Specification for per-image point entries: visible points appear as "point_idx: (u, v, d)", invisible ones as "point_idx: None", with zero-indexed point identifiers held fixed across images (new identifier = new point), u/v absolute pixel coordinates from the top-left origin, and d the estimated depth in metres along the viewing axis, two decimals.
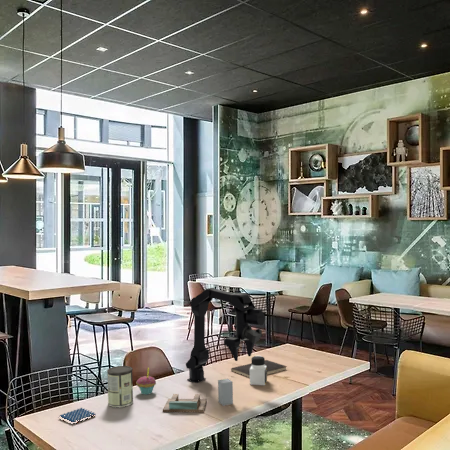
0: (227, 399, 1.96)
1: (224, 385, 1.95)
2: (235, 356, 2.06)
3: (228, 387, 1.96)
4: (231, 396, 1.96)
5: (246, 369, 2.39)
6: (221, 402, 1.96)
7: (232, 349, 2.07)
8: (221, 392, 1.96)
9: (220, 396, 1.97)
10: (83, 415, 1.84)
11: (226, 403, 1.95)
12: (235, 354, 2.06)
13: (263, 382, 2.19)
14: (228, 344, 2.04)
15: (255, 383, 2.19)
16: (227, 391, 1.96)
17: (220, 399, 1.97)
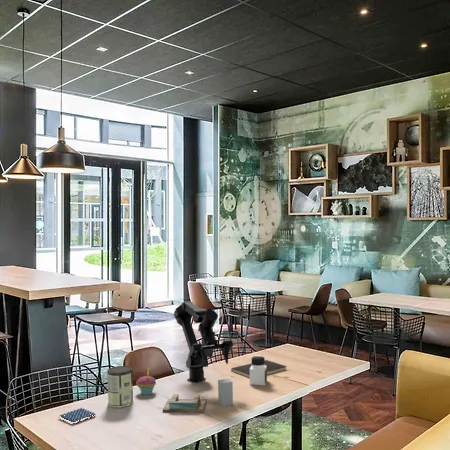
0: (227, 399, 1.96)
1: (224, 385, 1.95)
2: None
3: (228, 387, 1.96)
4: (231, 396, 1.96)
5: (246, 369, 2.39)
6: (221, 402, 1.96)
7: None
8: (221, 392, 1.96)
9: (220, 396, 1.97)
10: (83, 415, 1.84)
11: (226, 403, 1.95)
12: None
13: (263, 382, 2.19)
14: None
15: (255, 383, 2.19)
16: (227, 391, 1.96)
17: (220, 399, 1.97)
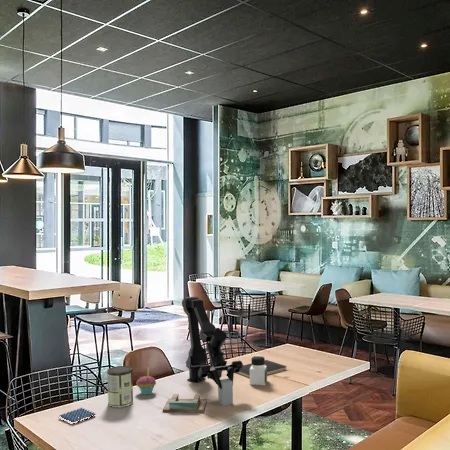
0: (227, 399, 1.96)
1: (224, 385, 1.95)
2: None
3: (228, 387, 1.96)
4: (231, 396, 1.96)
5: (246, 369, 2.39)
6: (221, 402, 1.96)
7: None
8: (221, 392, 1.96)
9: (220, 396, 1.97)
10: (83, 415, 1.84)
11: (226, 403, 1.95)
12: None
13: (263, 382, 2.19)
14: None
15: (255, 383, 2.19)
16: (227, 391, 1.96)
17: (220, 399, 1.97)
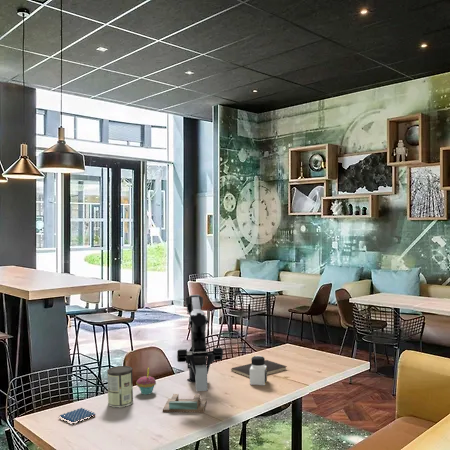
0: (201, 386, 1.93)
1: (198, 371, 1.93)
2: (208, 368, 1.96)
3: (202, 373, 1.93)
4: (205, 383, 1.93)
5: (246, 369, 2.39)
6: (196, 388, 1.94)
7: None
8: (195, 378, 1.93)
9: None
10: (83, 415, 1.84)
11: (200, 389, 1.93)
12: (209, 366, 1.96)
13: (263, 382, 2.19)
14: (222, 354, 2.00)
15: (255, 383, 2.19)
16: (200, 377, 1.93)
17: None
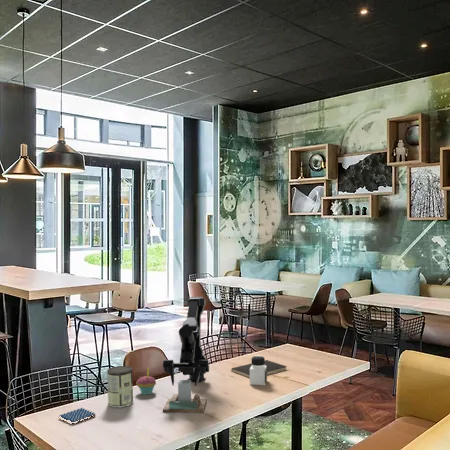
0: None
1: (180, 386, 1.92)
2: (198, 380, 1.94)
3: (184, 388, 1.92)
4: (187, 398, 1.92)
5: (246, 369, 2.38)
6: None
7: None
8: None
9: None
10: (83, 415, 1.84)
11: None
12: (199, 378, 1.95)
13: (263, 382, 2.19)
14: (208, 367, 1.98)
15: (255, 383, 2.19)
16: (183, 392, 1.92)
17: None
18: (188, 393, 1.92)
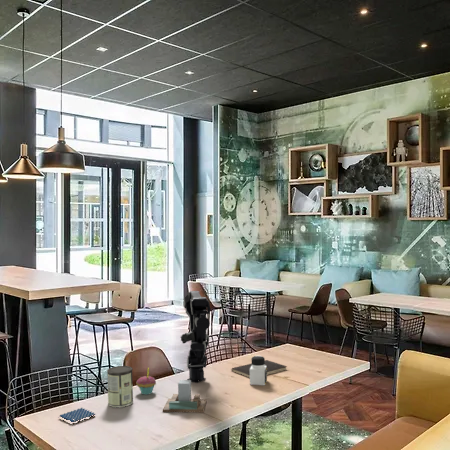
0: None
1: (180, 386, 1.92)
2: None
3: (184, 388, 1.92)
4: (187, 398, 1.92)
5: (247, 369, 2.38)
6: None
7: None
8: None
9: None
10: (83, 415, 1.84)
11: None
12: None
13: (263, 382, 2.19)
14: None
15: (255, 383, 2.19)
16: (183, 392, 1.92)
17: None
18: (188, 393, 1.92)
